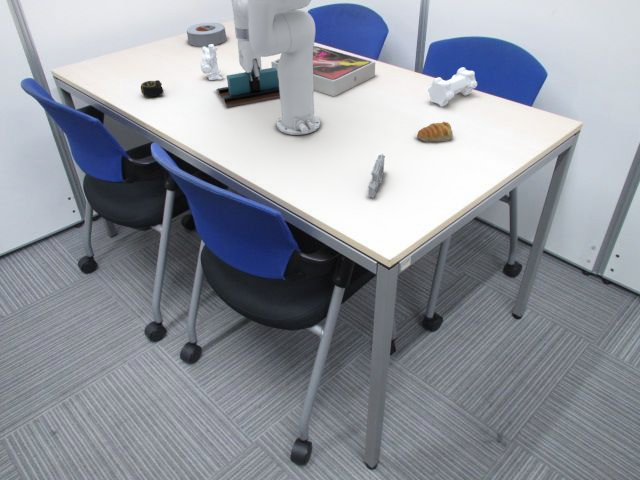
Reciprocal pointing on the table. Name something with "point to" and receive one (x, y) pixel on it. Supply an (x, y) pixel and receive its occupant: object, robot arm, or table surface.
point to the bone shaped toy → (452, 86)
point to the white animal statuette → (210, 62)
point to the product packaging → (337, 70)
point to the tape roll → (206, 34)
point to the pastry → (436, 132)
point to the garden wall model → (376, 175)
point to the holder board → (247, 96)
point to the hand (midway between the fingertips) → (253, 89)
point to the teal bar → (241, 80)
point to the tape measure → (151, 88)
